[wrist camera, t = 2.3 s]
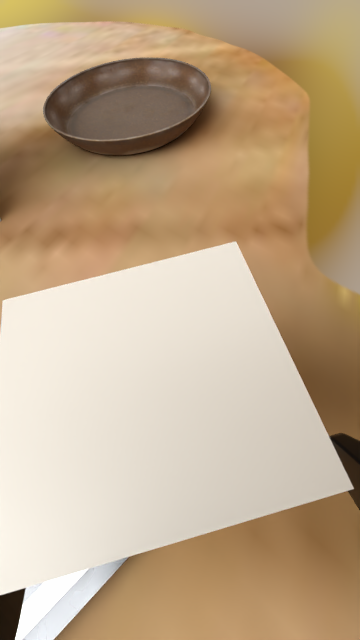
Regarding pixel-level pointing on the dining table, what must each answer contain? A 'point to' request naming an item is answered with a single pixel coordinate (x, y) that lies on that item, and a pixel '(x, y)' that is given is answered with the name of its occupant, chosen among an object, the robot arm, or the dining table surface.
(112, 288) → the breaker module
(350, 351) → the dining table surface
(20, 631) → the rail plate
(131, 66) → the plant saucer
